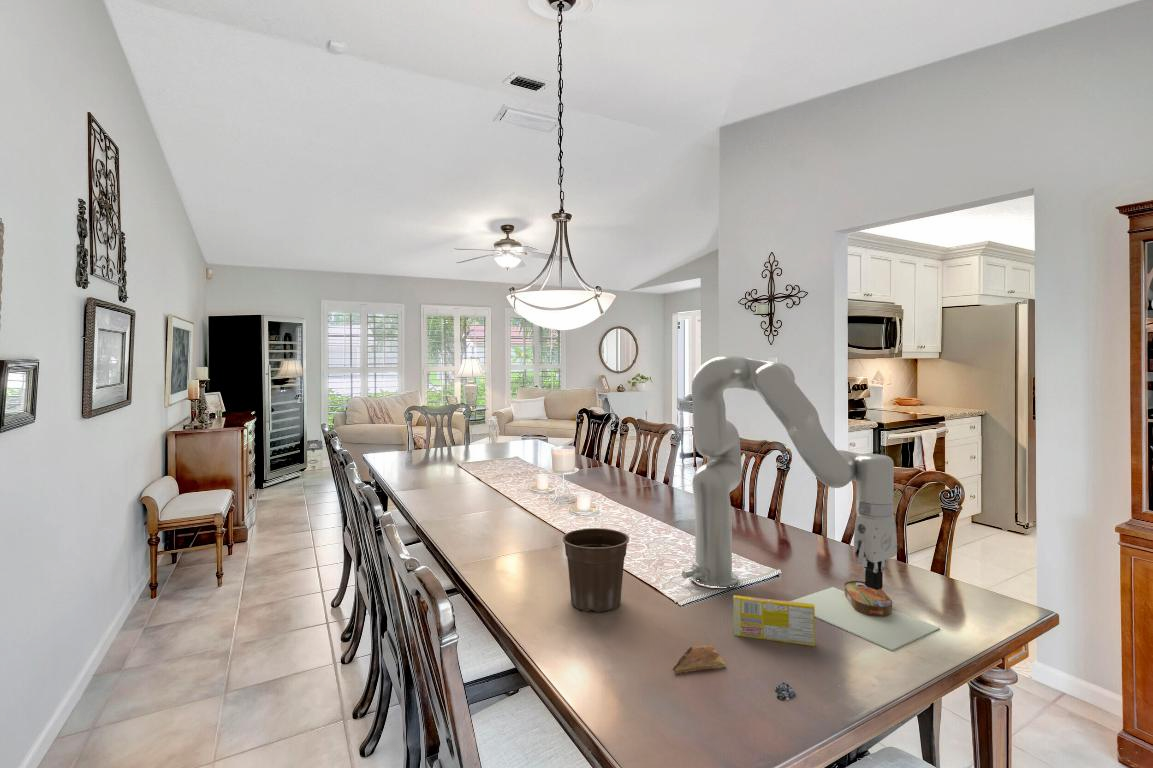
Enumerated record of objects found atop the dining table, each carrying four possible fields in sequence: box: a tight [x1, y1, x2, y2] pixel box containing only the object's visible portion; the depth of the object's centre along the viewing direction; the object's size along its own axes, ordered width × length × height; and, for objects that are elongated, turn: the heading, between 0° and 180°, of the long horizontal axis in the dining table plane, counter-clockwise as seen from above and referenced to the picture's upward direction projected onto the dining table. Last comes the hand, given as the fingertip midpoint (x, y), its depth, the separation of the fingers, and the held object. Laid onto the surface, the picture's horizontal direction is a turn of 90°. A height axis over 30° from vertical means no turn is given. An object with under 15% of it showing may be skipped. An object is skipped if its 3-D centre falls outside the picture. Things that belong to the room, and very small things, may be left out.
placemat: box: [790, 586, 941, 652], centre depth 129 cm, size 18×26×1 cm
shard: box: [671, 645, 726, 674], centre depth 110 cm, size 11×8×2 cm
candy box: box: [732, 594, 816, 647], centre depth 119 cm, size 16×2×8 cm, turn 71°
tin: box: [843, 580, 894, 616], centre depth 135 cm, size 15×3×8 cm
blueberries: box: [764, 682, 796, 702], centre depth 100 cm, size 7×8×2 cm
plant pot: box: [562, 527, 630, 613], centre depth 138 cm, size 16×16×16 cm
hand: (873, 587), depth 130 cm, fingers closed
